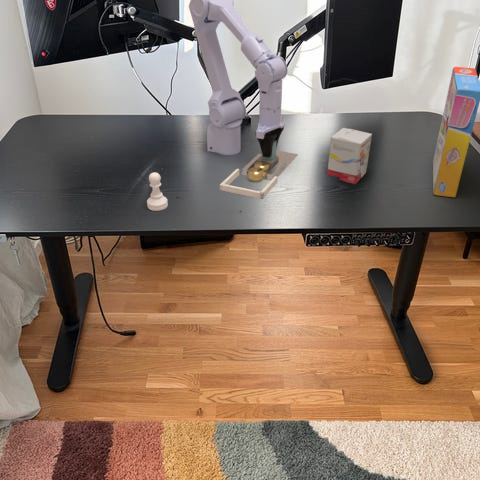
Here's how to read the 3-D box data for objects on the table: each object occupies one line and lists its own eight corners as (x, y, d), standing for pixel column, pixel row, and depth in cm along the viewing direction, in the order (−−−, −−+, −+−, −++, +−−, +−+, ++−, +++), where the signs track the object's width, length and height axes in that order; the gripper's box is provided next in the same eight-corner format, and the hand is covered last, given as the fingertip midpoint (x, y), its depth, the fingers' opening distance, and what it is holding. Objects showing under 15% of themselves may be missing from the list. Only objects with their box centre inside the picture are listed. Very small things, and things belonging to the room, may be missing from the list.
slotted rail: (239, 177, 141) (239, 168, 139) (266, 151, 155) (266, 143, 154) (274, 184, 137) (274, 175, 136) (298, 157, 152) (298, 148, 150)
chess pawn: (171, 207, 127) (168, 174, 122) (152, 213, 125) (148, 179, 120) (162, 199, 131) (159, 166, 126) (144, 204, 129) (140, 171, 124)
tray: (220, 193, 133) (219, 184, 132) (236, 177, 141) (236, 168, 140) (262, 202, 129) (262, 193, 128) (277, 185, 137) (277, 176, 136)
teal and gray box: (257, 168, 143) (257, 144, 139) (263, 161, 147) (263, 138, 143) (272, 171, 142) (273, 147, 138) (278, 164, 145) (279, 141, 141)
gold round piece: (246, 181, 137) (246, 173, 136) (251, 173, 140) (251, 166, 139) (260, 183, 136) (260, 176, 134) (265, 176, 139) (265, 168, 137)
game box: (455, 198, 130) (482, 91, 115) (432, 195, 132) (456, 89, 117) (452, 164, 147) (476, 67, 132) (432, 162, 148) (453, 65, 133)
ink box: (355, 185, 137) (361, 143, 130) (325, 177, 141) (329, 136, 134) (367, 172, 143) (373, 132, 136) (338, 165, 147) (342, 126, 140)
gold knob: (252, 175, 140) (252, 166, 138) (256, 168, 143) (256, 160, 142) (267, 176, 139) (267, 168, 138) (270, 170, 142) (270, 162, 141)
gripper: (274, 117, 128) (272, 167, 136) (294, 99, 140) (291, 146, 147) (248, 113, 131) (248, 162, 138) (269, 96, 142) (268, 143, 149)
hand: (269, 154), depth 143 cm, fingers closed on teal and gray box, 3 cm apart
